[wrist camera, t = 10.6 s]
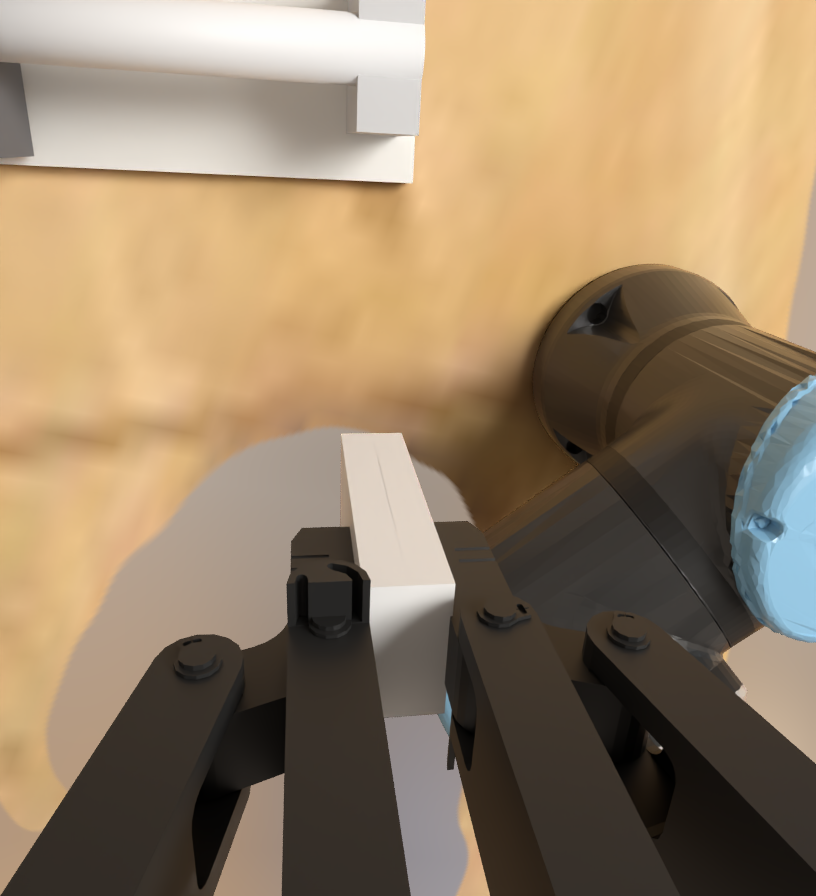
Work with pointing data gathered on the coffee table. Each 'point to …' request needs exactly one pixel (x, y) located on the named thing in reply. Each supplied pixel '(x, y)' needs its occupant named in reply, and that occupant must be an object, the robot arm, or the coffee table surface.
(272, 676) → the robot arm
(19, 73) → the collar
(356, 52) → the pipe stand
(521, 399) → the coffee table surface
